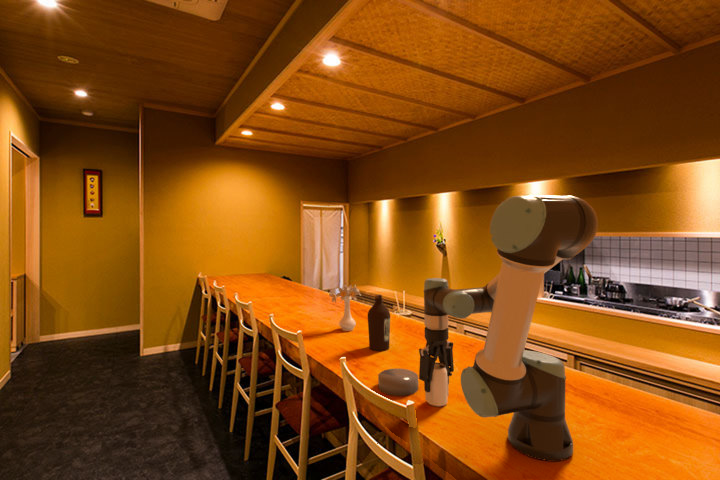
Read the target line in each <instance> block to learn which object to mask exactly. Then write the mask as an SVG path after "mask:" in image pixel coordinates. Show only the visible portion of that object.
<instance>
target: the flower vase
mask: <svg viewBox="0 0 720 480" xmlns="http://www.w3.org/2000/svg"><path fill="white" fill-rule="evenodd" d="M337 289H338V291H339V292H338V293H336V294H335V293H334V292H333V291H332V289H330V293H329V297H331V302H332V303H335V304H337V298H339V297H340V300H341V301H343V302H344V309H343V310H344V312H343V316H342V318H341V319H339V320H340V321H339V323H338V324H339V327H340V328H341V330H342V331H343V332H350V331H353V330H354V328H355V326H356V325H357V323H356V320H355V319H354V318H353V317H352V316H353V315H352V314H351V305H350V304H351V303H350V302H351V300H352V299H353V300H354V301H358V295H359V296H362V294H361V292H360V289H359V288H357V285H356V284H354V286H353V285H352V284H350V285H349V286H347V284H343V285H342V287H340V286H339V287H338V288H337Z"/></svg>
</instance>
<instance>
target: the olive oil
mask: <svg viewBox="0 0 720 480" xmlns="http://www.w3.org/2000/svg"><path fill="white" fill-rule="evenodd" d="M367 327H368V328H367V329H368V343H369V345H368V347H369V349H370V350H371V351H374V352H383V351H384V352H385V351H388V350H389V349H390V337H391V335H390V334H391V330H390V329H391V328H390V327H391V313H390V310H389V309H388V307H387V306H386V305H385V304H384V303H383V295H382V294H375V297H374V304H373V305H372V306H371V307H370V308H369V309H368V312H367Z"/></svg>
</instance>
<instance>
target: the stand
mask: <svg viewBox="0 0 720 480" xmlns="http://www.w3.org/2000/svg"><path fill="white" fill-rule="evenodd" d="M377 379H378V380H377V381H378V389H379V391H380V392H381V393H383V394H386V395H388V396H393V397H394V396H395V397H405V396H406V397H407V396H410V395H413V394H416V393H417V392H418V391H419V374H417V372H415V371H413V370H410V369H405V368H389V369H384V370H381V372H379V373H378V377H377Z"/></svg>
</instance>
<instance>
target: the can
mask: <svg viewBox="0 0 720 480" xmlns="http://www.w3.org/2000/svg"><path fill="white" fill-rule="evenodd" d="M445 367H446V366H445V365H444V364H442V363H440V362H437V361H435V365H434V370H433V375H432V380H431V381H432V382H433V400H434V402H433V403H431V402H429V401H427V400H426V402H427V403H428V404H429V405H430V406H433V407H437V408H438V407H439V408H440V407H444V406H445V405H447V404H448V396H447V370H446V368H445Z"/></svg>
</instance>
